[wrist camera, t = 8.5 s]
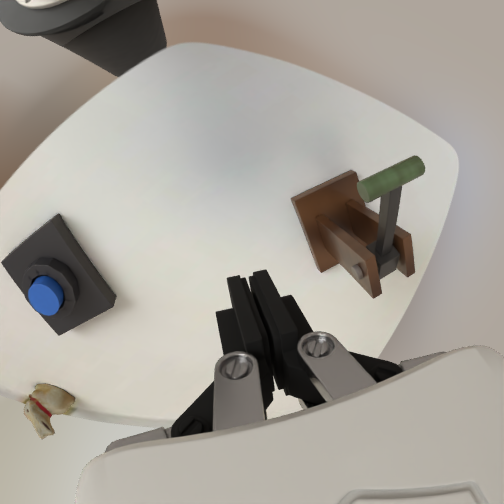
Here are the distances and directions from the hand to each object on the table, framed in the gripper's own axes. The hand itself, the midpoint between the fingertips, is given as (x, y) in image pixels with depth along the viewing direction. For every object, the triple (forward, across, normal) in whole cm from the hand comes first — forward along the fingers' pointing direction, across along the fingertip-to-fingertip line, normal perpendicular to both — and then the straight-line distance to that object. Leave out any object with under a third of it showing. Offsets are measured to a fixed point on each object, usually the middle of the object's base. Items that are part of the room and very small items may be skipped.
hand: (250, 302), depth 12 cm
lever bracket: (+19, -14, +6) cm, 24 cm away
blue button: (+16, +20, +5) cm, 26 cm away
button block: (+19, +20, +5) cm, 28 cm away
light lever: (+8, -12, +1) cm, 15 cm away
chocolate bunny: (+20, +34, +26) cm, 47 cm away
